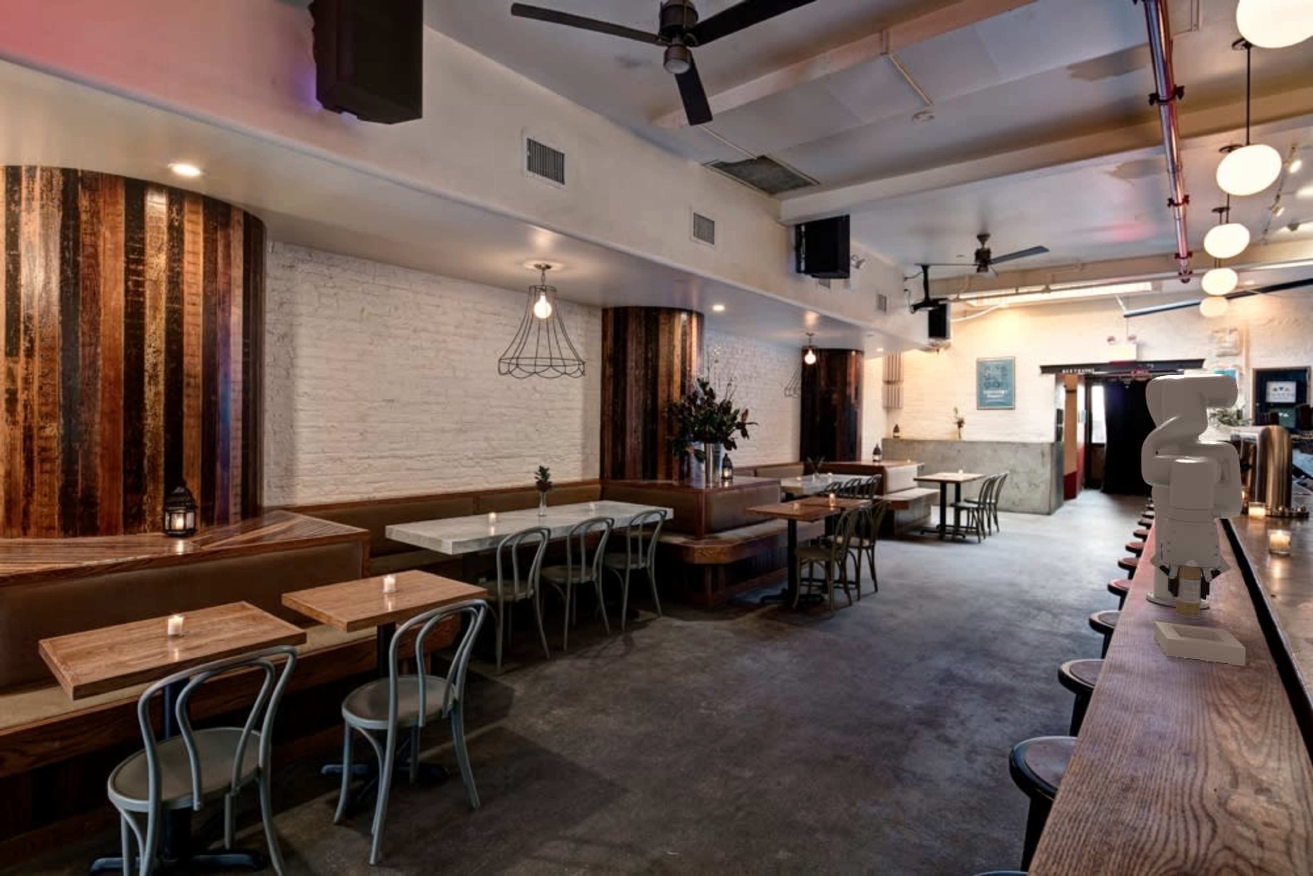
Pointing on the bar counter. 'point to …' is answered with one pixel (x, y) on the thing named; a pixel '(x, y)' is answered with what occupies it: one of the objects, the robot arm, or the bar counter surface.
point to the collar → (1199, 643)
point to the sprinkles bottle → (1189, 590)
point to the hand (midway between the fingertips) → (1188, 595)
